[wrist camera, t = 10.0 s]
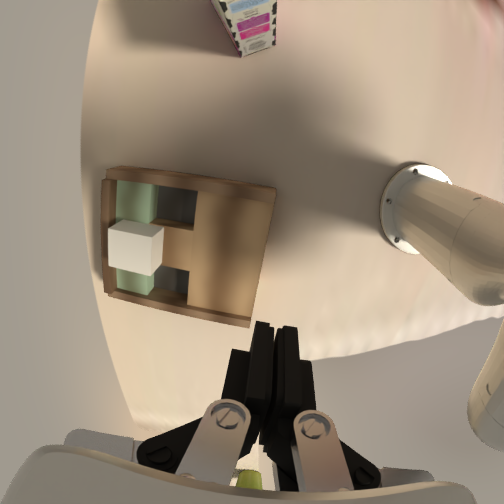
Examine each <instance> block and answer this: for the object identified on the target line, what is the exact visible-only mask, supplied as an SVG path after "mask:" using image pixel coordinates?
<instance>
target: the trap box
mask: <svg viewBox="0 0 504 504" xmlns="http://www.w3.org/2000/svg"><path fill="white" fill-rule="evenodd" d="M275 199H276V188H273V187H267V186H262V185H256V184H251V183H245V182H239V181H233V180H227V179H221V178H214V177H208V176H201V175H194V174H187V173H179V172H172V171H164V170H155V169H146V168H137V167H127V166H119V167H115V168H110V169H107V170H106V179H104V180H102V189H101V250H102V270H103V283H104V292H105V293H108V296H110V297H113V298H117V299H121V300H124V301H128V302H132V303H136V304H139V305H143V306H147V307H151V308H155V309H159V310H164V311H168V312H172V313H176V314H181V315H185V316H190V317H194V318H199V319H204V320H209V321H213V322H218V323H223V324H229V325H234V326H239V327H245V328H249V327H250V322H251V316H252V311H253V306H254V301H255V297H256V292H257V287H258V282H259V277H260V272H261V267H262V262H263V257H264V252H265V247H266V242H267V237H268V232H269V227H270V222H271V217H272V212H273V207H274V204H275ZM123 219H124V220H129V221H134V222H140V223H145V224H150V225H156V226H161V227H164V236H163V251H162V263H161V265H160V266H159V267H158V268H157V269H156V270H155V272H154V273H153V274H152V275H151V276H147V275H143V274H139V273H135V272H131V271H127V270H123V269H119V268H115V267H111V266H109V262H108V228H110V227H111V226H113V225H115V224H116V223H118V222H120V221H121V220H123Z"/></svg>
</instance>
